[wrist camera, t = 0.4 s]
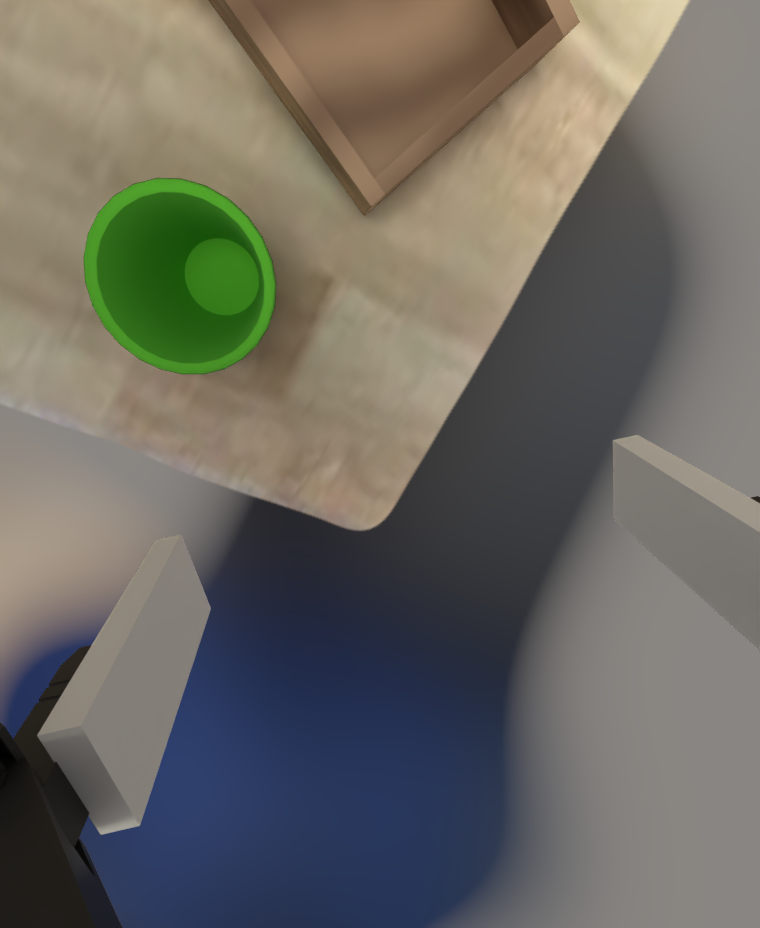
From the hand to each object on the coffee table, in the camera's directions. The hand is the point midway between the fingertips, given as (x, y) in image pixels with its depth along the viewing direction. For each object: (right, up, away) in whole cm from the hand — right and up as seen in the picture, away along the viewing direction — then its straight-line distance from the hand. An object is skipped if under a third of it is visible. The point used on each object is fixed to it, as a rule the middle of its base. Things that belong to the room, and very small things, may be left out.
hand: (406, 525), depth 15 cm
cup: (-11, +15, +20) cm, 27 cm away
